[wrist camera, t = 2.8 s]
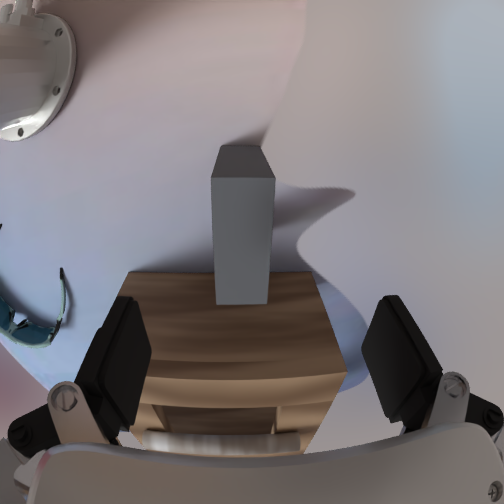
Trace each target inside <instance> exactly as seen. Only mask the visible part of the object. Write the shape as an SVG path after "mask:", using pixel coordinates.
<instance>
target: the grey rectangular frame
mask: <svg viewBox="0 0 504 504" xmlns="http://www.w3.org/2000/svg"><path fill="white" fill-rule="evenodd" d="M275 180H276V178H275V176H274V174H273V172H272V170H271V168H270V166H269V164H268V162H267V160H266V158H265V156H264V154H263V152H262V150H261V148H260V146H221V147H220V150H219V153H218V156H217V160H216V163H215V166H214V169H213V173H212V176H211V200H212V230H213V253H214V272H215V290H216V305H242V304H267V297H268V284H269V271H270V257H271V243H272V228H273V213H274V197H275Z"/></svg>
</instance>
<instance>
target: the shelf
mask: <svg viewBox="0 0 504 504" xmlns="http://www.w3.org/2000/svg"><path fill="white" fill-rule="evenodd" d="M117 296H131V297H133V299H134V300H136V301H137V302H138V304H139V308H140V311H141V315H142V318H143V322H144V325H145V329H146V332H147V335H148V339H149V342H150V345H151V348H152V355H151V359H150V363H149V367H148V370H147V374H146V378H145V382H144V386H143V390H142V394H141V398H140V402H139V407H138V411H137V415H136V420H135V424H134V425H133V426H130V429H129V430H130V431H131V433H132V434H133V435H134V436H135V437H136V438H137V440H139V442H140V443H141V444H142V445H143V447H144V449H146V450H147V451H154V452H162V453H171V454H180V455H191V456H205V457H274V456H288V455H299V454H303V453H304V452H305V450H306V448H307V447H308V445H309V443H310V442H311V440H312V438H313V437H314V435H315V433H316V431H317V429H318V428H319V426H320V424H321V423H322V421H323V419H324V417H325V415H326V414H327V412H328V410H329V408H330V406H331V404H332V402H333V400H334V398H335V397H336V395H337V393H338V391H339V389H340V387H341V385H342V382H343V380H344V378H345V376H346V374H347V372H348V371H347V368H346V365H345V363H344V360H343V357H342V354H341V351H340V348H339V345H338V342H337V340H336V337H335V334H334V331H333V328H332V326H331V323H330V320H329V318H328V315H327V312H326V309H325V307H324V304H323V301H322V299H321V296H320V294H319V291H318V288H317V286H316V283H315V281H314V278H313V275H312V273H311V272H269V284H268V297H267V304H242V305H216V290H215V273H158V272H129V273H128V275H127V277H126V279H125V281H124V283H123V285H122V287H121V289H120V291H119V293H118V295H117ZM116 298H117V297H116Z"/></svg>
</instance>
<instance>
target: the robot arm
mask: <svg viewBox="0 0 504 504" xmlns="http://www.w3.org/2000/svg"><path fill="white" fill-rule="evenodd" d="M32 3H33V0H16V2H15V4H16V7H15V12H13V13H12V11H13V6H14V5H13V4H7V5H5V6H3V7H2V8H1V11H0V138H2V139H3V140H6V141H11V142H14V141H21V140H24V139H27V138H30V137H32V136H34V135H36V134H38V133H39V132H40V131H41V130H43V129H44V128H45V127H46V126H47V125H48V124H49V123H50V122H51V121H52V120H53V118H54V117H55V115H56V114H57V113H58V111H59V110H60V108H61V106H62V104H63V102H64V100H65V98H66V97H67V94H68V91H69V89H70V86H71V84H72V80H73V76H74V72H75V65H76V42H75V38H74V34H73V32H72V30H71V28H70V26H69V25H68V24H67V23H66V22H65V20H63V19H62V18H60V17H58V16H55V15H52V14H48V13H39V14H35V15H34V13H35V9H34V8H32ZM362 354H363V357H364V359H365V362H366V364H367V367H368V370H369V372H370V375H371V378H372V380H373V383H374V386H375V388H376V392H377V394H378V397H379V400H380V403H381V405H382V409H383V411H384V414H385V416H386V417H387V418H389V420H390V423H394V422H398V421H402V422H403V425H404V426H403V428H402V430H401V433H400V435H399V436H396V437H392V438H388V439H384V440H380V441H376V442H372V443H367V444H363V445H358V446H353V447H348V448H342V449H336V450H331V451H323V452H316V453H308V454H299V455H288V456H274V457H205V456H191V455H180V454H171V453H162V452H154V451H147V450H141V449H135V448H129V447H123V446H122V445H121V443H120V441H119V440H118V438H117V436H118V434H119V430H121V431H127V432H129V429H130V426H133V425H134V424H135V420H136V415H137V411H138V407H139V402H140V398H141V394H142V390H143V386H144V382H145V378H146V374H147V370H148V367H149V363H150V359H151V355H152V348H151V345H150V342H149V339H148V335H147V332H146V329H145V325H144V322H143V318H142V315H141V311H140V308H139V304H138V302H137V301H136V300H134V299H133V297H131V296H117V298H116V299H115V301H114V303H113V305H112V307H111V309H110V311H109V313H108V315H107V317H106V319H105V321H104V323H103V325H102V327H101V328H99V329H98V330H97V332H96V334H95V336H94V338H93V340H92V342H91V344H90V347H89V349H88V351H87V353H86V355H85V358H84V360H83V362H82V364H81V367H80V369H79V371H78V374H77V376H76V379H75V381H74V383H73V382H70V381H64V382H60V383H58V384H56V385H55V386H54V387H53V388H52V389H51V390H50V392H49V394H48V398H47V402H48V403H47V404H45V405H43V406H41V407H39V408H38V409H35V410H33V411H31V412H30V413H28V414H25V415H23V416H22V417H19V418H17V419H16V420H14V421H13V422H12V423H11V424H10V426H9V429H8V438H7V439H5V438H3V439H1V441H0V504H504V417H503V413H502V411H501V409H500V408H499V407H498V406H496V405H495V404H493V403H491V402H488V401H486V400H484V399H482V398H480V397H478V396H476V395H474V394H471V393H470V387H469V383H468V381H467V380H466V378H464V377H463V376H462V375H461V374H459V373H457V372H447V373H445V374H444V375H443V373H442V370H443V369H442V367H441V365H440V364H439V362H438V360H437V358H436V356H435V355H434V353H433V351H432V349H431V348H430V346H429V344H428V343H427V341H426V339H425V337H424V336H423V334H422V332H421V331H420V329H419V327H418V326H417V324H416V323H415V321H414V319H413V317H412V316H411V314H410V313H409V311H408V309H407V308H406V306H405V305H404V303H403V302H402V300H401V299H400V297H399V296H398V295H388V296H384V297H383V298H382V300H380V301H379V302H378V305H377V308H376V311H375V313H374V316H373V319H372V321H371V324H370V326H369V329H368V331H367V334H366V336H365V339H364V341H363V344H362Z"/></svg>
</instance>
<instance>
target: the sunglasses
mask: <svg viewBox="0 0 504 504" xmlns="http://www.w3.org/2000/svg"><path fill="white" fill-rule="evenodd" d="M1 226H2V224H0V228H1ZM60 282H61V290H62V303H61V311H60V314H59V316H58V318H57V324H56V327H50V328H44V327H40V326H37V325H35V324H33V323H32V322H26V321H27V319H25V320H23V321H22V322H21V323H19V324H18V325H17V324H16V323H14V322H13V319H14V315H15V310H12V308H11V307H9V306H8V305H7V304H6V302H5V301H4V300H3V299H2V297H1V296H0V333H2V334H3V335H4V336H5V337H6V338H8V339H9V340H10V341H12V342H14V343H16V344H19V345H21V346H25V347H29V348H44V347H47V346H49V345H51V342H52V341H53V339H54V338H55V336H56V335H57V333H58V331H59V328H60V325H61V321H62V316H63V314H64V311H65V304H66V290H65V282H64V278H63V274H62V268H60ZM24 322H25V323H24Z"/></svg>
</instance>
